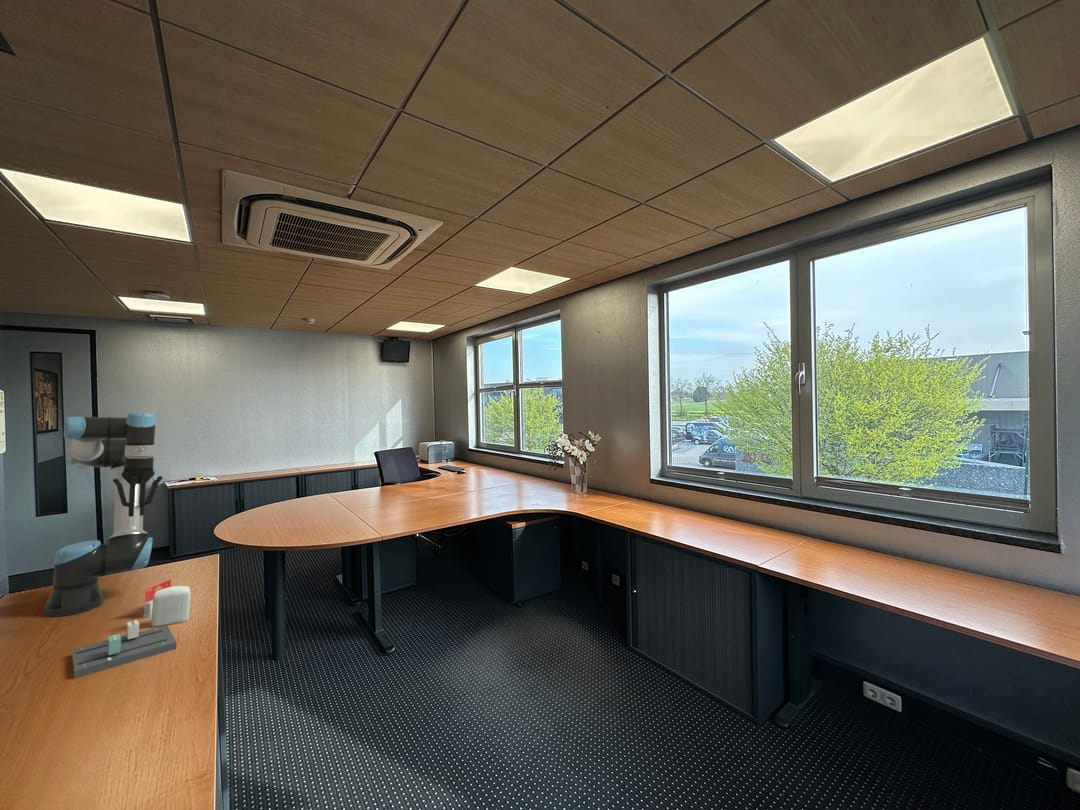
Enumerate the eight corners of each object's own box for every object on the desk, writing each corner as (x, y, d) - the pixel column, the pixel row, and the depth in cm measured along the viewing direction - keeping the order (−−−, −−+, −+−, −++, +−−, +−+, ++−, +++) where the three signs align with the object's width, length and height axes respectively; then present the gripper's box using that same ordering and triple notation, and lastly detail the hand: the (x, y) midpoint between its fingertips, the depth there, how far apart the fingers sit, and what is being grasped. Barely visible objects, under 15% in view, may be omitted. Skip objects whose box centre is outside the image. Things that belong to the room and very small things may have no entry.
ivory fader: (126, 636, 139) (126, 621, 139) (136, 633, 141) (137, 619, 141) (127, 641, 137) (128, 626, 137) (138, 638, 139) (139, 623, 139)
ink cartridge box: (175, 604, 168) (177, 579, 168) (149, 618, 157) (151, 590, 157) (169, 604, 168) (170, 578, 168) (142, 617, 157) (144, 590, 157)
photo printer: (189, 616, 159) (191, 582, 159) (188, 621, 155) (190, 586, 156) (152, 623, 153) (154, 587, 153) (150, 628, 150) (152, 592, 150)
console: (71, 656, 132) (72, 648, 132) (166, 630, 148) (167, 624, 148) (74, 678, 121) (74, 670, 121) (176, 648, 138) (176, 641, 138)
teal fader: (107, 652, 130) (108, 636, 131) (118, 648, 132) (119, 633, 132) (108, 657, 128) (109, 641, 128) (120, 653, 130) (121, 638, 130)
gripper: (114, 459, 145) (110, 531, 144) (165, 457, 155) (162, 524, 154) (112, 457, 150) (108, 526, 149) (161, 455, 160) (158, 520, 159)
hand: (135, 525), depth 152 cm, fingers closed
